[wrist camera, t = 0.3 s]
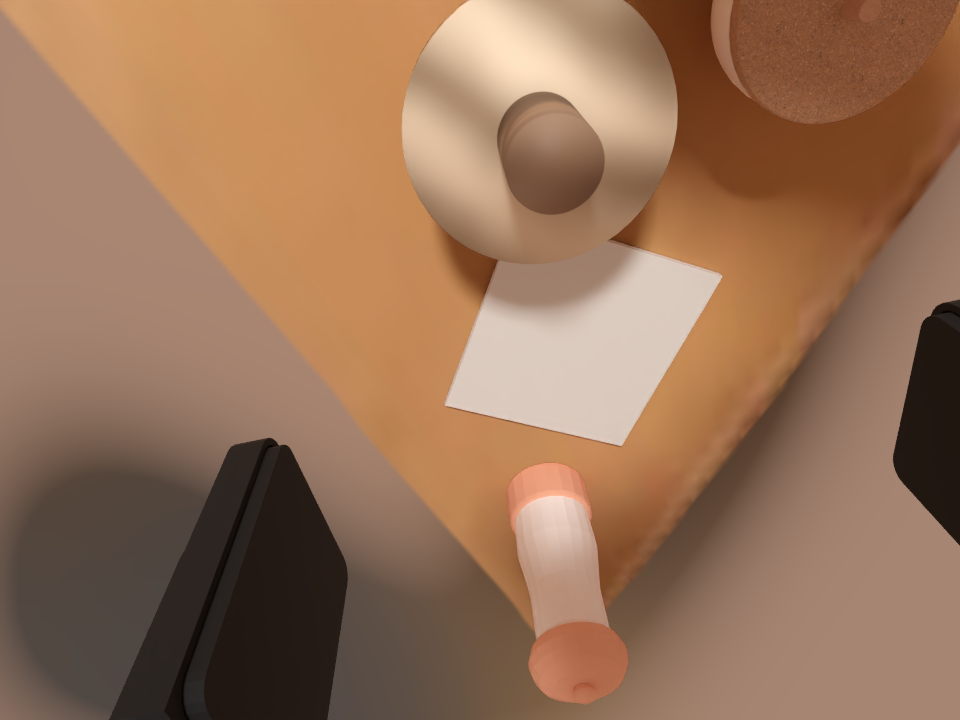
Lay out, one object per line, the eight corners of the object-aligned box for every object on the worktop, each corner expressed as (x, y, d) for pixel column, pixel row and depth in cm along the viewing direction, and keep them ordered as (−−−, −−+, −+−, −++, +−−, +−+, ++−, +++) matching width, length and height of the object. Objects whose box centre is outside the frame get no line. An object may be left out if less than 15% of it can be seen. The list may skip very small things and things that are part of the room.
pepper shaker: (504, 466, 55) (529, 677, 39) (585, 458, 55) (643, 665, 39) (509, 522, 59) (534, 733, 43) (584, 514, 59) (637, 722, 43)
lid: (447, -75, 27) (449, -80, 22) (721, 36, 30) (778, 54, 25) (375, 216, 34) (363, 263, 29) (602, 282, 37) (627, 335, 32)
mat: (516, 210, 42) (517, 213, 41) (719, 273, 45) (722, 276, 45) (444, 401, 51) (445, 405, 50) (619, 441, 54) (621, 446, 54)
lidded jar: (791, 123, 40) (877, 165, 32) (649, 53, 37) (704, 81, 29) (913, -64, 34) (1052, -68, 26) (758, -161, 32) (861, -197, 24)
